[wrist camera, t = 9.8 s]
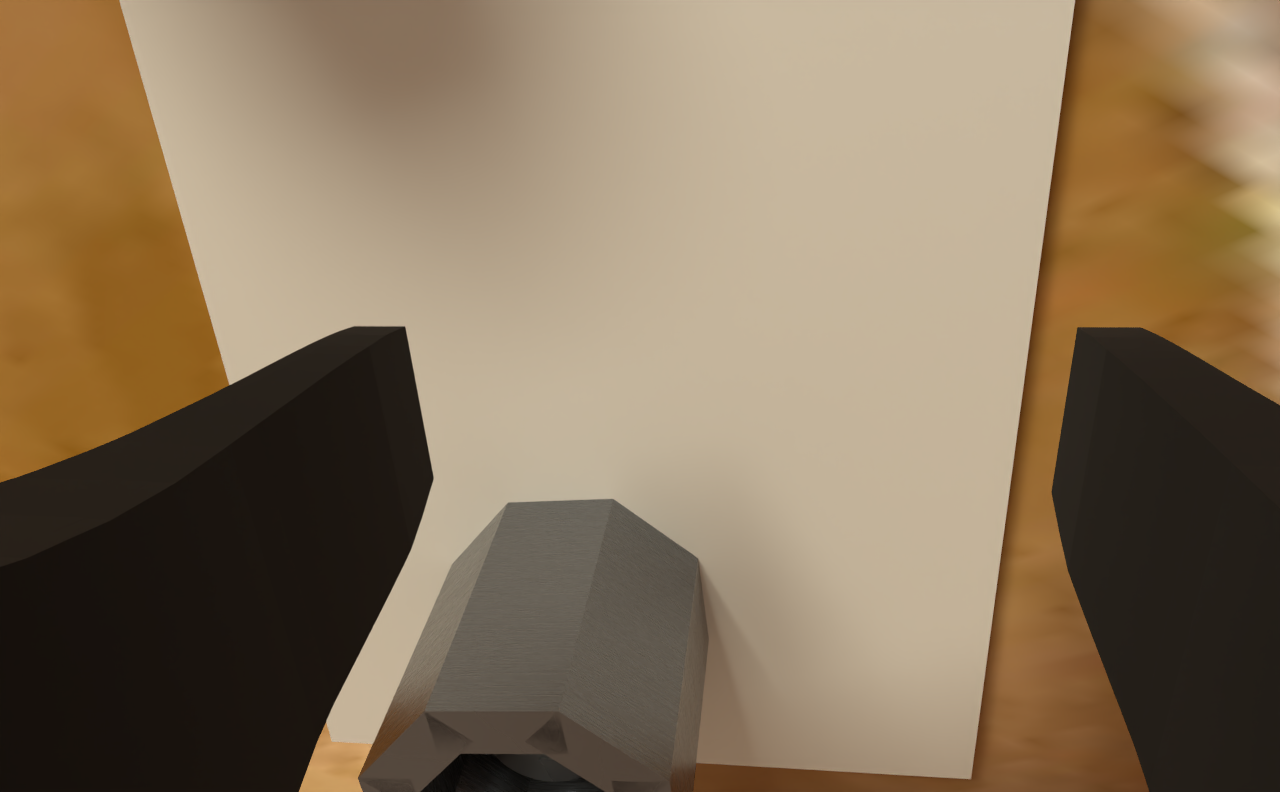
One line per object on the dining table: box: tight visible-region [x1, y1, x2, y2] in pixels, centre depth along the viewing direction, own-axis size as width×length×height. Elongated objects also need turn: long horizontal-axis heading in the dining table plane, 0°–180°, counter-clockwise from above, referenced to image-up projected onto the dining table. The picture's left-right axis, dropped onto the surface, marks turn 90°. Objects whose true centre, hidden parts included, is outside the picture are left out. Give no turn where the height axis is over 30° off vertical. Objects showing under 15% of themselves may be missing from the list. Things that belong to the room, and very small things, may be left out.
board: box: [119, 0, 1075, 779], centre depth 22 cm, size 16×22×1 cm
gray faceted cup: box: [358, 499, 709, 792], centre depth 22 cm, size 6×6×6 cm
